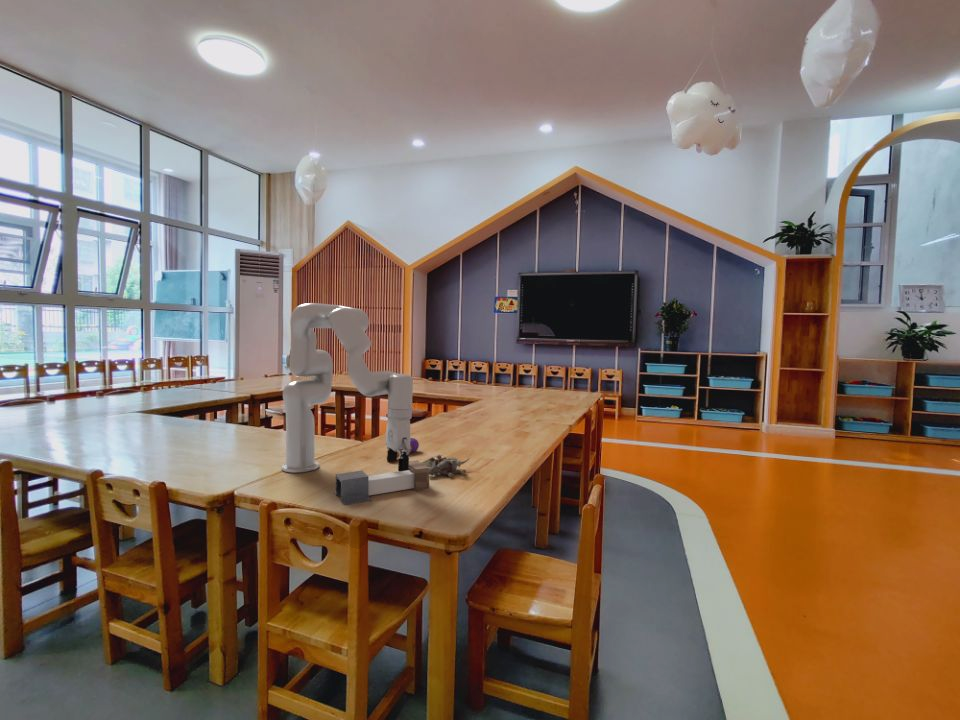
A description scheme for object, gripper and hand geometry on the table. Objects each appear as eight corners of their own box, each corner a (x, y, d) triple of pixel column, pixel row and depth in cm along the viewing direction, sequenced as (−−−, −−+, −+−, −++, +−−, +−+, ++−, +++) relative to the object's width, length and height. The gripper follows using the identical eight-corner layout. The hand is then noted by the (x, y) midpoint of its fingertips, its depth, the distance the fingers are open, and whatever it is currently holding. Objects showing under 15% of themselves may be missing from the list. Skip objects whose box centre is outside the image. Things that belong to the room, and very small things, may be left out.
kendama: (382, 451, 181) (407, 436, 199) (385, 467, 181) (409, 450, 200) (395, 450, 179) (419, 435, 197) (398, 466, 179) (422, 449, 198)
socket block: (405, 482, 157) (405, 462, 156) (417, 480, 159) (417, 460, 159) (416, 491, 149) (416, 469, 149) (429, 489, 151) (429, 467, 151)
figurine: (433, 468, 157) (403, 458, 168) (434, 486, 157) (404, 475, 169) (476, 454, 171) (445, 446, 183) (476, 470, 171) (446, 461, 183)
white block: (360, 492, 147) (360, 476, 146) (414, 483, 156) (414, 468, 156) (364, 496, 143) (364, 481, 143) (419, 487, 152) (420, 472, 152)
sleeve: (333, 492, 146) (333, 471, 146) (359, 488, 150) (359, 468, 150) (343, 505, 136) (343, 482, 136) (370, 500, 140) (371, 478, 140)
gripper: (379, 408, 155) (377, 459, 156) (398, 419, 140) (396, 475, 142) (400, 407, 159) (398, 457, 160) (421, 418, 144) (419, 472, 146)
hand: (397, 466), depth 151 cm, fingers open, 9 cm apart
